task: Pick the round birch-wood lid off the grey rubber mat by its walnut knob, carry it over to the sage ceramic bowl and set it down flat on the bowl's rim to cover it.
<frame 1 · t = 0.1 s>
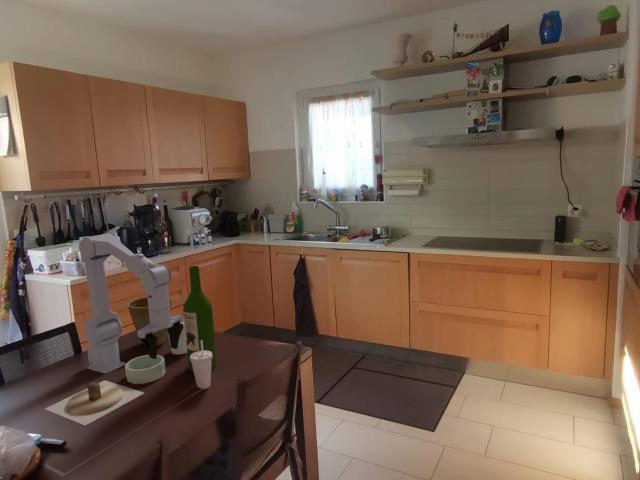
hand: (164, 353, 132), 10 cm above the table, tool pointing down, fingers open, 7 cm apart
smoothie: (203, 386, 132), on the table
plant pot: (154, 343, 167), on the table
lid: (95, 400, 125), resting on mat
wine bottle: (203, 366, 145), on the table
mat: (95, 402, 125), on the table
white cup: (181, 351, 158), on the table
bowl: (146, 376, 140), on the table
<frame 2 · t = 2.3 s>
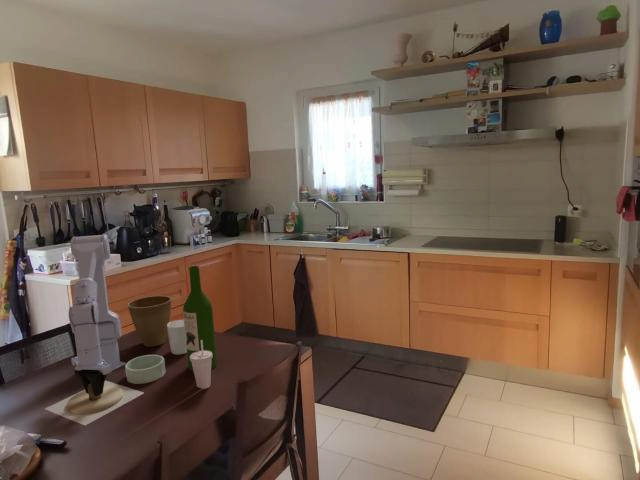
hand: (94, 393, 125), 3 cm above the table, tool pointing down, fingers closed on lid, 3 cm apart
lid: (95, 400, 125), resting on mat, touching gripper
everything else where it was.
when the fingers open (8 cm above the table, at t = 5.3 s): lid drops 1 cm, resting on bowl.
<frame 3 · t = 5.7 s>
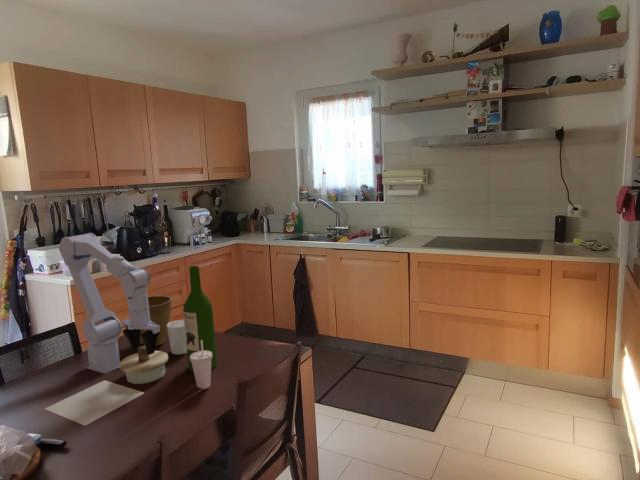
hand: (143, 351, 138), 8 cm above the table, tool pointing down, fingers open, 6 cm apart
lid: (144, 362, 139), point 5 cm above the table, touching bowl
bowl: (146, 376, 140), on the table, touching lid
everything else where it was.
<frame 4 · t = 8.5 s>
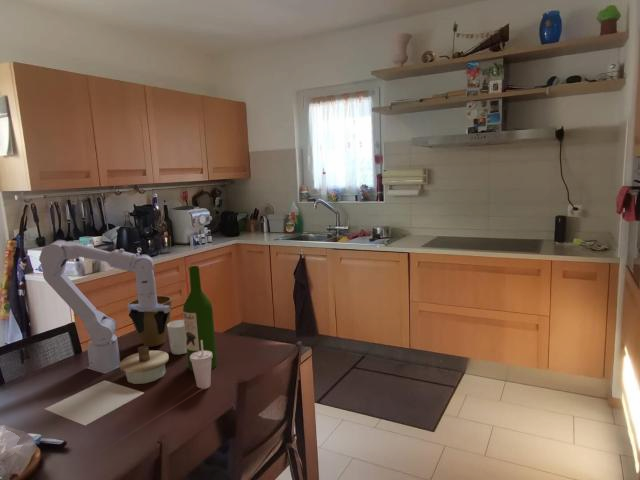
hand: (151, 332, 149), 10 cm above the table, tool pointing down, fingers open, 7 cm apart
nothing on the table moved.
at the end: lid 0.0 cm off-centre on the bowl, point 4.8 cm above the bowl's base; lid tilted 0°; the gripper is holding nothing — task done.
